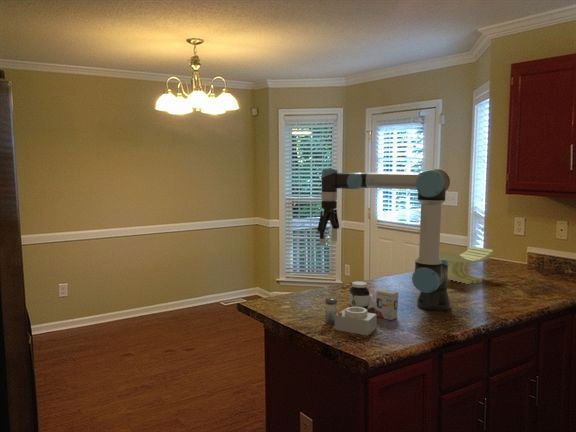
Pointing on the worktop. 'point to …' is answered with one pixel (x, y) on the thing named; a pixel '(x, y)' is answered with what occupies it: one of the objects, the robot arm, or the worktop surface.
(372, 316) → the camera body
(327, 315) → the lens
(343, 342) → the worktop surface
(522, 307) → the worktop surface
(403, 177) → the robot arm
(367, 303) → the spread jar
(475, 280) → the slatted curved stool
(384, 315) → the ink box
